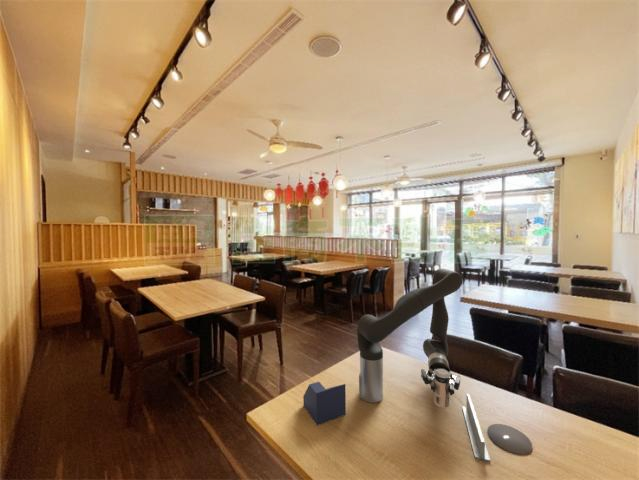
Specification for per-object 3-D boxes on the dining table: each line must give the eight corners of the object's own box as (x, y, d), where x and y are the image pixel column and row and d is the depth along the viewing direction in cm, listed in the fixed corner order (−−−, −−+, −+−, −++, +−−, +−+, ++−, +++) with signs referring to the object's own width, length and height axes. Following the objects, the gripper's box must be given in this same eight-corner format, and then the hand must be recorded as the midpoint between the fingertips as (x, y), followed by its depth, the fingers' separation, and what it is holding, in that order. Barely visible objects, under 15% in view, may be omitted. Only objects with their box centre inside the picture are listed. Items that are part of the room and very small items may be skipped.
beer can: (450, 410, 93) (451, 376, 92) (435, 408, 94) (436, 374, 93) (446, 401, 98) (448, 368, 97) (432, 399, 99) (433, 367, 98)
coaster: (492, 448, 86) (492, 446, 86) (483, 422, 98) (483, 420, 98) (538, 458, 83) (538, 456, 83) (523, 430, 94) (523, 428, 94)
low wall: (475, 459, 83) (475, 440, 82) (462, 408, 105) (462, 392, 105) (490, 462, 81) (490, 443, 81) (473, 410, 104) (474, 394, 104)
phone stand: (330, 396, 114) (329, 368, 113) (345, 414, 103) (345, 383, 102) (303, 405, 108) (302, 376, 108) (316, 425, 98) (316, 393, 97)
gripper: (419, 354, 111) (420, 376, 95) (458, 359, 107) (466, 384, 91) (419, 372, 112) (419, 397, 96) (458, 378, 107) (466, 406, 91)
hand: (442, 390), depth 93 cm, fingers closed on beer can, 4 cm apart
